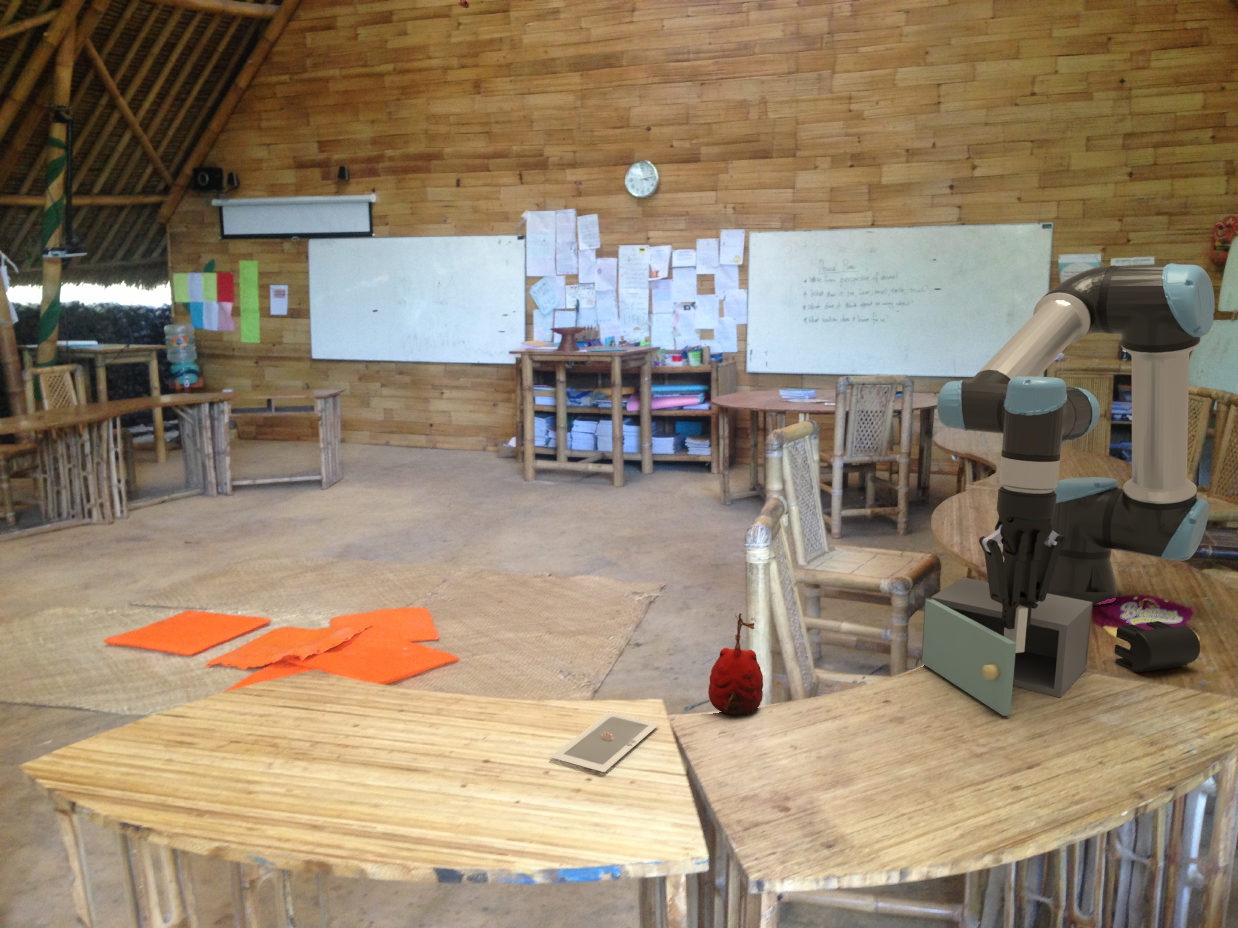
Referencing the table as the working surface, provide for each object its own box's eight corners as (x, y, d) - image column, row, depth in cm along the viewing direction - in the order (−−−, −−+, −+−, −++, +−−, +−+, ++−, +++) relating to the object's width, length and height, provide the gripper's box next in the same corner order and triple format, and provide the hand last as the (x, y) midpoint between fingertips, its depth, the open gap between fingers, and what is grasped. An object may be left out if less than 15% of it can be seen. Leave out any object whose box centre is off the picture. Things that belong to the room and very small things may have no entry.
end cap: (1147, 680, 142) (1152, 638, 141) (1110, 663, 149) (1115, 622, 148) (1198, 672, 145) (1203, 631, 144) (1160, 656, 152) (1164, 616, 151)
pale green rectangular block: (926, 660, 148) (930, 597, 146) (1010, 714, 129) (1016, 642, 127) (911, 662, 147) (915, 598, 145) (994, 716, 128) (999, 644, 126)
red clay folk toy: (761, 700, 134) (765, 600, 132) (763, 721, 127) (766, 616, 125) (708, 697, 135) (711, 597, 132) (707, 718, 128) (709, 613, 126)
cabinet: (958, 639, 159) (963, 577, 157) (1086, 669, 146) (1092, 601, 144) (926, 663, 148) (930, 596, 146) (1060, 697, 135) (1067, 625, 133)
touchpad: (549, 764, 116) (549, 748, 116) (609, 718, 129) (609, 703, 129) (604, 780, 112) (604, 763, 112) (659, 731, 125) (659, 716, 125)
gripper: (1048, 481, 135) (1034, 636, 139) (970, 484, 132) (958, 643, 136) (1086, 491, 128) (1070, 654, 132) (1005, 494, 125) (991, 662, 129)
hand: (1013, 648), depth 134 cm, fingers closed
